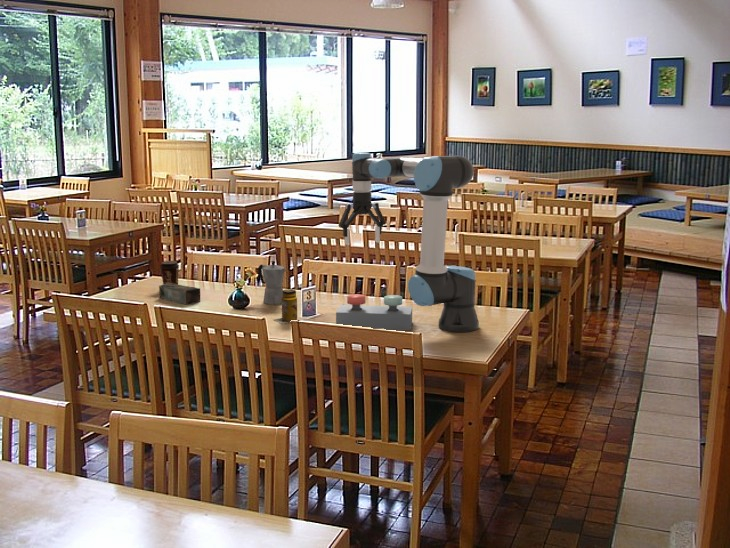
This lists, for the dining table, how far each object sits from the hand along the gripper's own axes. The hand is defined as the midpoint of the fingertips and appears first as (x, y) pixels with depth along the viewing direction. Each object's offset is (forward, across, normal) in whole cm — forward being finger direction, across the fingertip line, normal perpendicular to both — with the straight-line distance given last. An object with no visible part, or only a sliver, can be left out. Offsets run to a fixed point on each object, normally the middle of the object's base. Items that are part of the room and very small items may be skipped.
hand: (362, 243), depth 334 cm
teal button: (+25, +1, +30) cm, 39 cm away
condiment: (+27, +35, +5) cm, 45 cm away
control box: (+27, +7, +26) cm, 39 cm away
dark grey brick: (+27, +65, -47) cm, 85 cm away
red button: (+24, +13, +23) cm, 36 cm away
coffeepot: (+27, +30, -27) cm, 49 cm away
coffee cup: (+26, +65, -69) cm, 98 cm away
